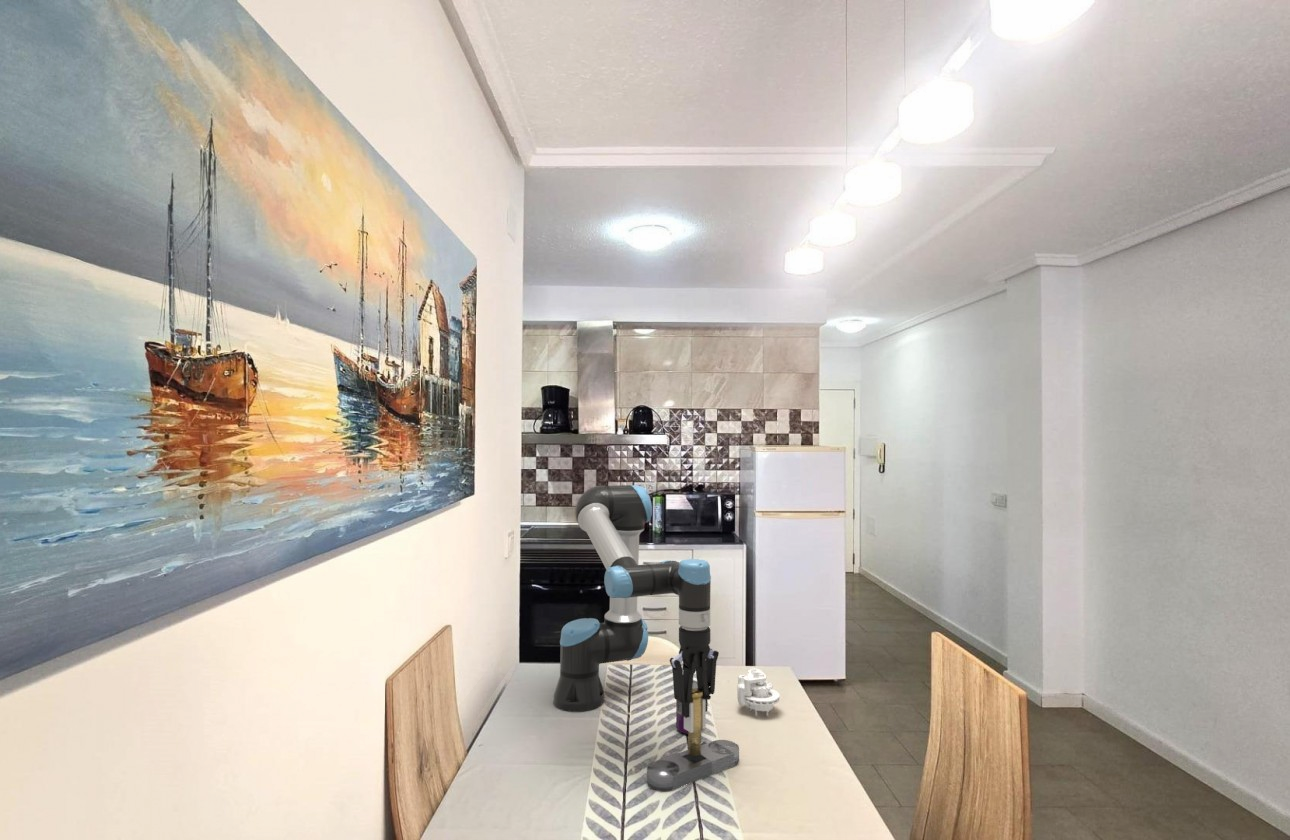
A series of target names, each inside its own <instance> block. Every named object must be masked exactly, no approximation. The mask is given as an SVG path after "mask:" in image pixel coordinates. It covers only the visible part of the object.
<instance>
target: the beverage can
mask: <svg viewBox="0 0 1290 840" xmlns="http://www.w3.org/2000/svg"><path fill="white" fill-rule="evenodd" d="M692 688H697V689H698V685H697V680H693V685H692ZM675 701H676V703H675V704H676V707H675V711H676V713H675V715H676V716H675V717H676V720H675V728H676V729H677V731H679V732H681V733H682V732H683V733H682V734H685V733H686V734H685V735H688V731H687V730H685V729H684V716H682V703H681V702H679V701H678V700H676V699H675ZM702 730H703V729H702V728H701V731H702Z"/></svg>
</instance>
